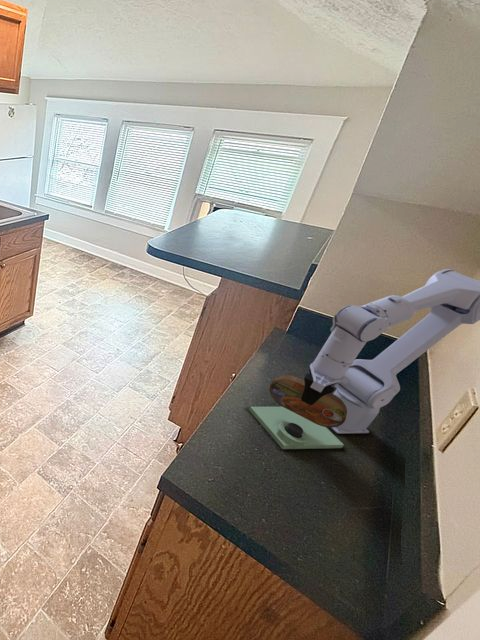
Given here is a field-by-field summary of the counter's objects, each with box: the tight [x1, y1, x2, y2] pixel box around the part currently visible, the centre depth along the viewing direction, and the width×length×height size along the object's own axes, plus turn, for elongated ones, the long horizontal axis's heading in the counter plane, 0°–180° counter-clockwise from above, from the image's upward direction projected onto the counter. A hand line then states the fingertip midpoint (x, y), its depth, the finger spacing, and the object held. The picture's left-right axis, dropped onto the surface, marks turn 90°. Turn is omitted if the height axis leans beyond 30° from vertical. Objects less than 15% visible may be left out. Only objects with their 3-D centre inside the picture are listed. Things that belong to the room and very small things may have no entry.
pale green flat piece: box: [248, 406, 345, 450], centre depth 95 cm, size 16×12×3 cm
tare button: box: [285, 423, 303, 438], centre depth 90 cm, size 3×3×2 cm
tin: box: [268, 374, 347, 428], centre depth 92 cm, size 15×3×8 cm, turn 41°
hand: (308, 399), depth 92 cm, fingers closed on tin, 2 cm apart
